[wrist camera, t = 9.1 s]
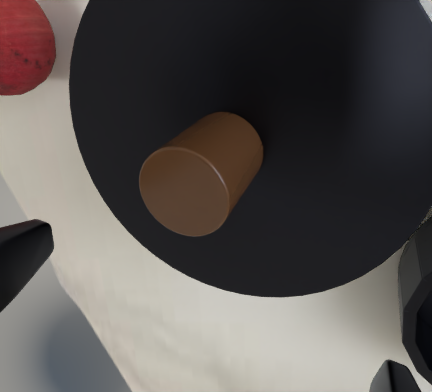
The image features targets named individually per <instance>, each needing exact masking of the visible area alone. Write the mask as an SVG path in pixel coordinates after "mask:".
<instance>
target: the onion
mask: <svg viewBox="0 0 432 392" xmlns="http://www.w3.org/2000/svg"><path fill="white" fill-rule="evenodd" d="M55 58H56V48H55V38H54V34H53V31H52V28H51V25H50V23H49V21H48V19H47V17H46V16H45V14H44V12H43V11H42V9H41V7H40V6H39V4H38V3H37V2H36V1H35V0H0V95H21V94H24V93H26V92H28V91H30V90H32V89H34V88H35V87H37V86H38V85H39V84H41V83H42V82H44V81H45V80H46V79H47V77H48V76H49V74H50V73H51V71H52V67H53V64H54V61H55Z"/></svg>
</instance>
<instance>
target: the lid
mask: <svg viewBox="0 0 432 392" xmlns="http://www.w3.org/2000/svg"><path fill="white" fill-rule="evenodd" d="M69 93H70V108H71V115H72V121H73V128H74V131H75V135H76V139H77V143H78V147H79V150H80V152H81V155H82V158H83V161H84V163H85V166H86V168H87V170H88V172H89V174H90V177H91V179H92V181H93V183H94V185H95V186H96V188H97V190H98V192H99V193H100V195H101V197H102V198H103V200H104V202H105V203H106V204H107V206H108V207H109V208H110V210H111V211H112V213H113V214H114V215H115V217H116V218H117V219H118V220H119V221H120V223H121V224H122V225H123V226H124V227H125V228H126V230H127V231H128V232H129V233H130V234H131V235H132V236H133V237H134V238H135V239H136V240H137V241H139V242H140V243H141V244H142V245H143V246H144V247H145V248H146V249H148V250H149V251H150V252H151V253H153V254H154V255H155V256H156V257H158V258H159V259H161V260H162V261H164V262H165V263H167V264H168V265H170V266H171V267H173V268H174V269H176V270H178V271H180V272H182V273H183V274H185V275H187V276H189V277H191V278H193V279H196V280H198V281H200V282H202V283H205V284H207V285H210V286H213V287H216V288H219V289H222V290H226V291H230V292H235V293H239V294H244V295H251V296H259V297H292V296H303V295H308V294H313V293H318V292H323V291H326V290H329V289H332V288H335V287H338V286H341V285H344V284H346V283H348V282H350V281H353V280H355V279H357V278H359V277H361V276H363V275H365V274H366V273H368V272H369V271H371V270H372V269H374V268H376V267H377V266H379V265H380V264H382V263H383V262H384V261H385V260H387V259H388V258H389V257H390V256H391V255H393V254H394V253H395V252H396V251H397V250H398V249H400V248H401V247H402V245H403V244H404V243H405V242H406V241H407V240H408V239H409V237H410V236H411V235H412V234H413V233H414V232H415V231H416V230H417V228H418V227H419V225H420V224H421V222H422V221H423V219H424V218H425V216H426V215H427V213H428V211H429V210H430V208H431V207H432V21H431V20H430V18H429V16H428V15H427V13H426V11H425V10H424V8H423V6H422V5H421V3H420V1H419V0H89V2H88V5H87V7H86V9H85V11H84V13H83V15H82V18H81V21H80V24H79V27H78V30H77V33H76V37H75V40H74V46H73V51H72V57H71V62H70V78H69Z"/></svg>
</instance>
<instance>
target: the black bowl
mask: <svg viewBox="0 0 432 392" xmlns="http://www.w3.org/2000/svg"><path fill="white" fill-rule="evenodd" d="M398 298H399V310H400V322H401V333H402V343H403V345H404V347H405V349H406V351H407V352H408V354H409V356H410V358H411V360H412V362H413V364H414V366H415V368H416V370H417V372H418V373H419V374H420V375H421V376H423V377H424V378H425V379H426V380H427V381H428V382H429V383H430V384H431V385H432V217H431V218H430V219H428V220H427V221H426V222H425V223H424V224H423V225H422V226H421V227H420V228H419V229H418V230H417V231H416V232H415V234H414V235H413V236H412V238H411V239H410V241H409V242H408V244H407V245H406V247H405V249H404V252H403V254H402V256H401V260H400V264H399V269H398Z"/></svg>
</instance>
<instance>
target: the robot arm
mask: <svg viewBox="0 0 432 392" xmlns="http://www.w3.org/2000/svg"><path fill="white" fill-rule="evenodd" d="M53 249H54V241H53V235H52V228H51V226H50V224H48V223H46V222H44V221H41V220H38V219H34V220H29V221H25V222H22V223H18V224H14V225H9V226H5V227H1V228H0V312H1V311H2V310H3V309H4V308H5V307H6V306H7V305H8V304H9V303H10V302H11V301H12V300H13V299H14V298H15V297H16V296H17V295H18V293H19V292H20V291H21V290H22V289H23V288H24V286H25V285H26V284H27V283H28V282H29V280H30V279H31V278H32V277H33V276H34V274H35V273H36V272H37V271H38V270H39V268H40V267H41V266H42V265H43V264H44V262H45V261H46V260H47V259H48V257H49V256H50V255H51V254H52V252H53ZM369 392H421V390H420V389H419V387H418V385H417V383H416V381H415V379H414V377H413V375H412V374H411V372H410V370H409V369H408V368H407V367H406V366H404V365H402V364H400V363H397V362H395V361H392V360H386V361H385V362H384V363H383V364H382V366H381V367H380V369H379V371H378V372H377V374H376V375H375V377H374V378H373V380H372V383H371V386H370V390H369Z"/></svg>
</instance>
